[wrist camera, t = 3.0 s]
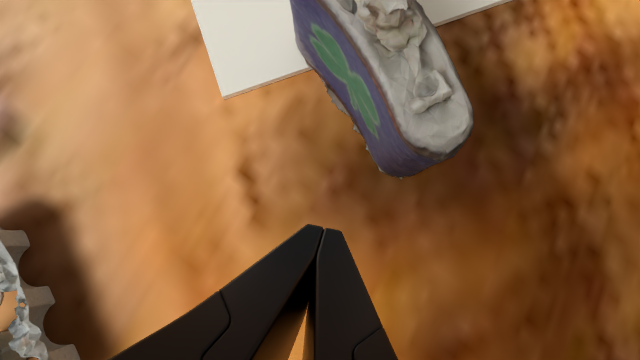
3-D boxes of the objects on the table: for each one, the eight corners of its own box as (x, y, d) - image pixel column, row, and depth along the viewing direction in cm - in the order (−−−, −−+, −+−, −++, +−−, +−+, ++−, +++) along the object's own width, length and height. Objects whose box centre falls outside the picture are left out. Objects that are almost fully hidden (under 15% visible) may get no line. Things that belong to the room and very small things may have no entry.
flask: (285, 36, 25) (251, -115, 14) (335, 4, 25) (342, -173, 14) (389, 190, 24) (446, 169, 13) (439, 157, 24) (540, 107, 13)
